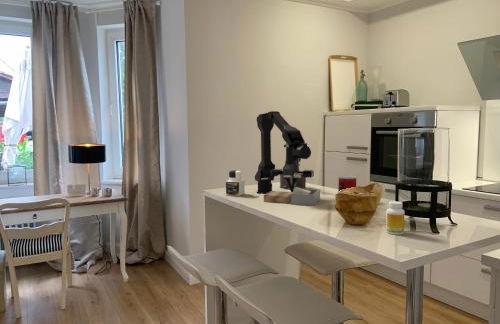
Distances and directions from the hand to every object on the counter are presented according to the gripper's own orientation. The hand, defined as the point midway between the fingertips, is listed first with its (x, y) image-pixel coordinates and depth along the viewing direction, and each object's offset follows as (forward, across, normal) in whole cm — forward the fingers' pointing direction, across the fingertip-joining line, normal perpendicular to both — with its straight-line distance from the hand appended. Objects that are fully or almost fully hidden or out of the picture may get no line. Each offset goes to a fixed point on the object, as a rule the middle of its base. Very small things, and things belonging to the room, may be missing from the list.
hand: (292, 192), depth 176 cm
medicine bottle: (+4, -31, +7) cm, 32 cm away
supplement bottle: (+5, +44, -41) cm, 60 cm away
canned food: (+4, +23, +9) cm, 25 cm away
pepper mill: (+4, -7, +34) cm, 35 cm away
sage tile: (+1, +2, 0) cm, 3 cm away
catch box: (+4, +6, 0) cm, 8 cm away
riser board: (+4, -5, 0) cm, 6 cm away
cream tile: (+1, +5, 0) cm, 5 cm away
